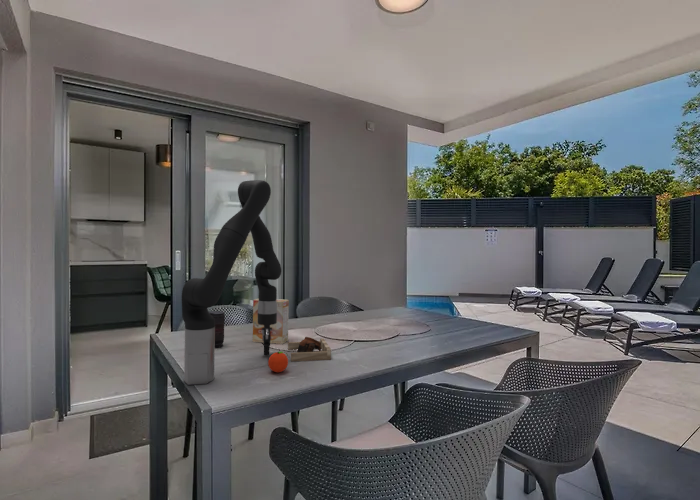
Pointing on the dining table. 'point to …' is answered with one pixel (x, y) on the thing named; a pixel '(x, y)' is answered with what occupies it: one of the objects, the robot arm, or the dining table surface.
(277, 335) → the coffeecake box
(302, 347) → the pottery mug
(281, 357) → the clementine
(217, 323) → the camera lens
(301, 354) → the beige wooden tray
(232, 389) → the dining table surface
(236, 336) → the dining table surface
